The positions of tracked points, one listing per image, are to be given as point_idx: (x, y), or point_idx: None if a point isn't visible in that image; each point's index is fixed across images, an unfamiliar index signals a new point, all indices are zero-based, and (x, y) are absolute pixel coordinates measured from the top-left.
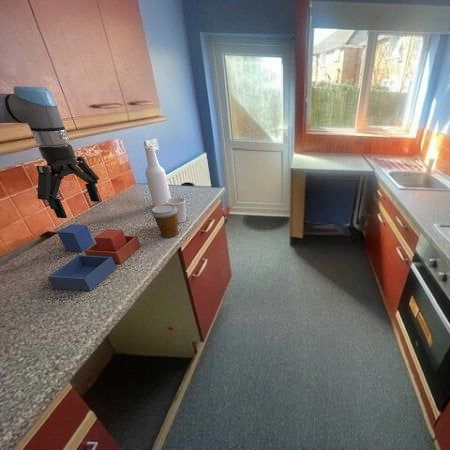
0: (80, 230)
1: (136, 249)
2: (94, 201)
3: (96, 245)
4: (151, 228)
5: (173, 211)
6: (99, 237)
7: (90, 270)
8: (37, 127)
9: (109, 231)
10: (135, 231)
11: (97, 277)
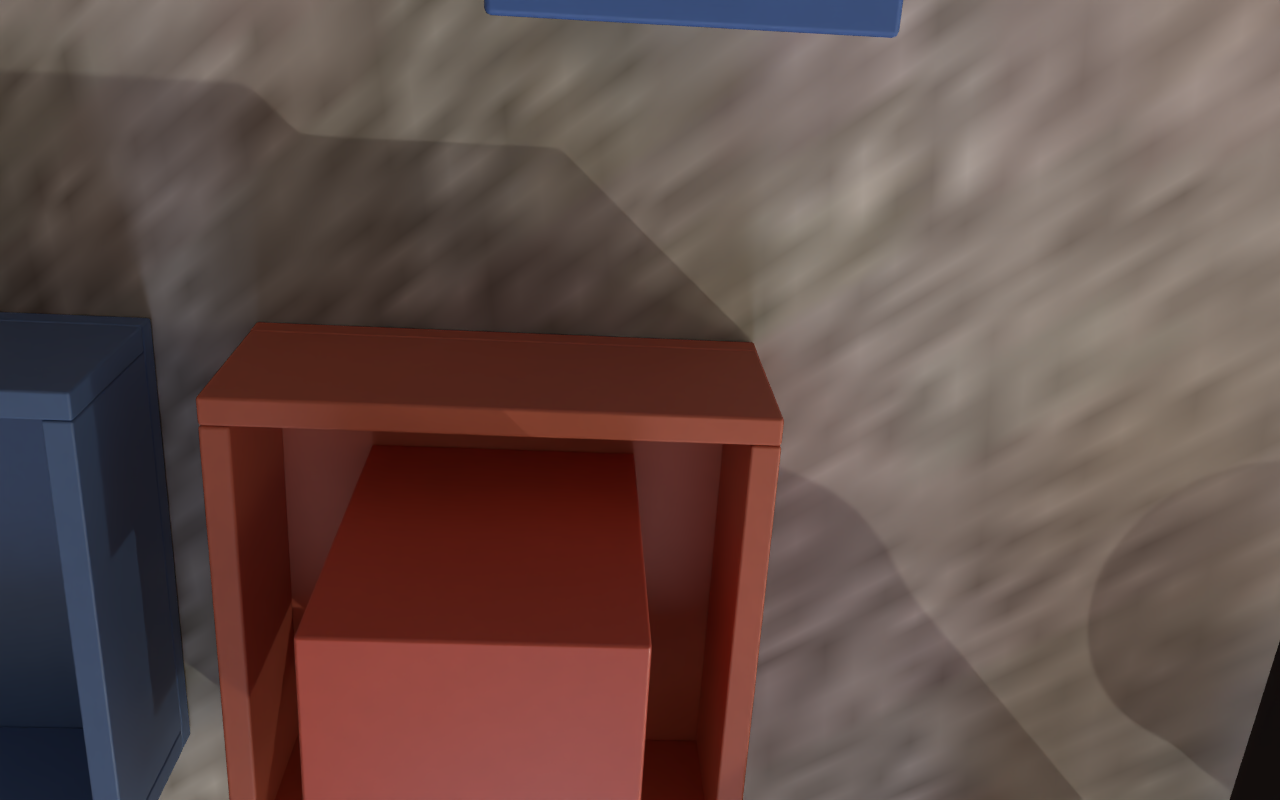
0: (677, 25)
1: None
2: (1265, 700)
3: (428, 426)
4: (1267, 634)
5: None
6: (310, 728)
7: (37, 514)
8: None
9: (555, 753)
10: (1189, 451)
11: None
